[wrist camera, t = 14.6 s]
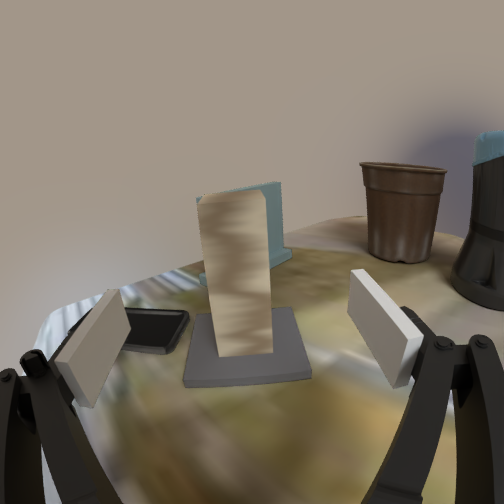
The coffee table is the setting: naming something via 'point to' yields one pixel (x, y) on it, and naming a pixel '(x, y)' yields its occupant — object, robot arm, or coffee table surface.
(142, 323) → the phone
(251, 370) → the charcoal mat
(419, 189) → the plant pot
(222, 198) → the tall tan block
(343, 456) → the coffee table surface
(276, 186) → the standing board
